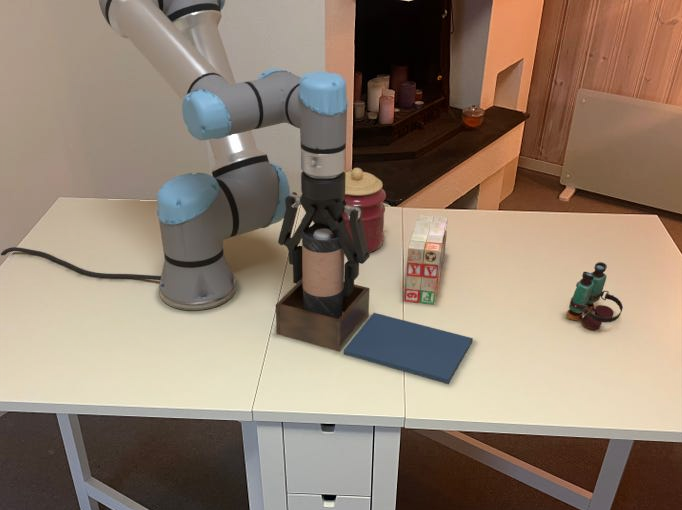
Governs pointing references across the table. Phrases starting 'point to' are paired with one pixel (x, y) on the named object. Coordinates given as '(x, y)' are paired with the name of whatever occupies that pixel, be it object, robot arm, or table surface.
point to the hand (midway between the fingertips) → (323, 286)
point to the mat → (409, 347)
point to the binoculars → (592, 299)
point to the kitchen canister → (366, 205)
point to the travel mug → (322, 271)
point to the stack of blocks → (425, 259)
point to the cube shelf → (321, 318)
